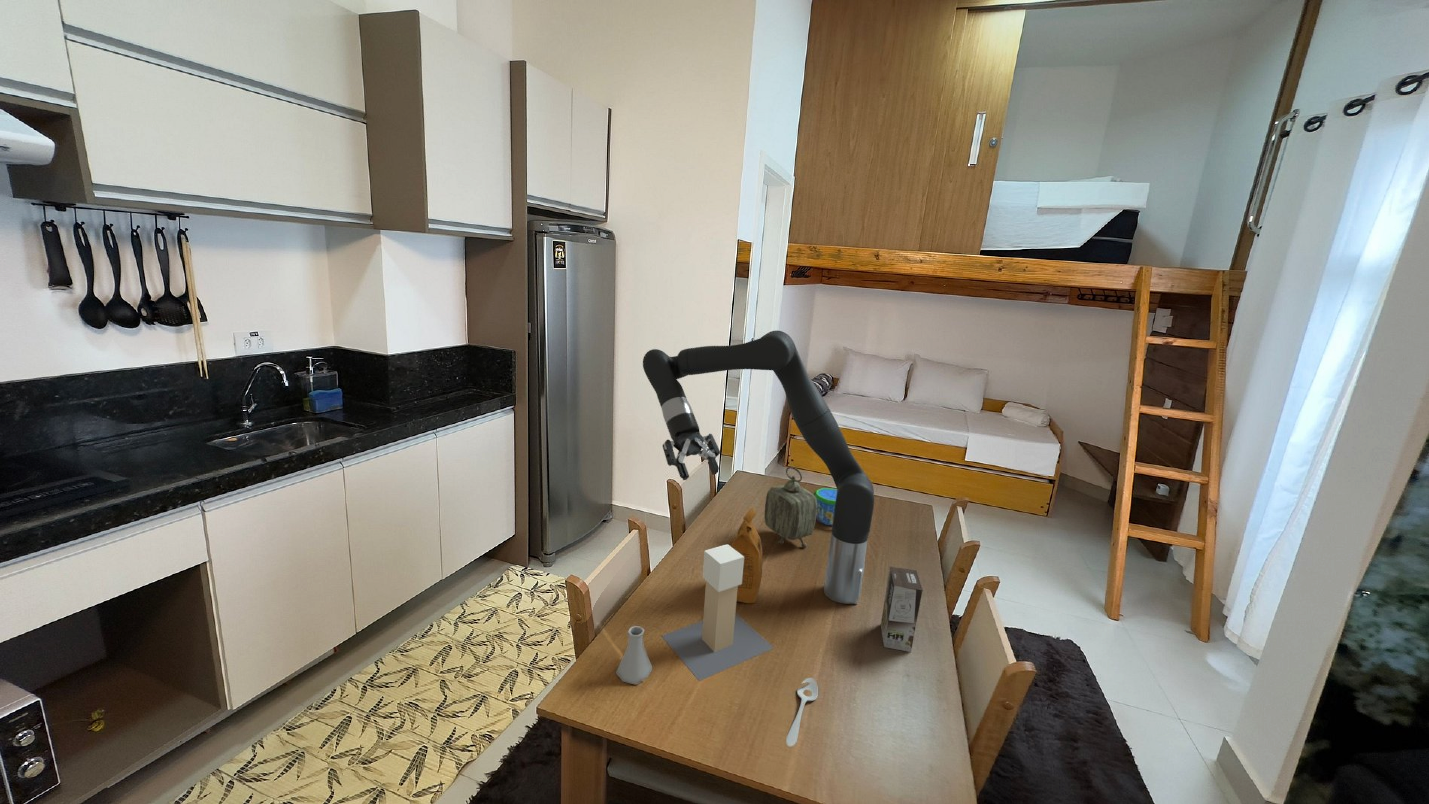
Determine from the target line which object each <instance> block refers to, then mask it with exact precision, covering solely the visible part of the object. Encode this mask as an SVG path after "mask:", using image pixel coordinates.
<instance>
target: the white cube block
mask: <svg viewBox="0 0 1429 804" xmlns="http://www.w3.org/2000/svg"><path fill="white" fill-rule="evenodd" d="M743 566H744V556H742V555H741V554H740V553H739V552H737V551H736V550H735V549H733V548H732V547H731V545H729V544H723V545H720V546H717V547H712V548H709V549H706V550H704V552H703V567H702V579H703V580H705V582H706V581H707V582H708V583H709V584H710V585H711V586H712V587H714V588H715V589H716V590H717V591H718V592H720V591H723V590H726V589H729V588H732V587H735V586H738V585H741V584H742V577H743Z"/></svg>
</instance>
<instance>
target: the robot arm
mask: <svg viewBox="0 0 1429 804" xmlns="http://www.w3.org/2000/svg"><path fill="white" fill-rule="evenodd" d="M642 369H643V370H644V371H643V372H644V373H645V375H646V378H647V379H648V382H649V383H650V385H651V387H652V389H653V390H654V391H655V394H656V397H657V400H658V403H659V406H660V408H661V412H662V416H663V420H664V422H665V425H666V427H667V430H668V432H669V436H670V438H671V440H670V439H666V440H665V441H664V442H663V444H662V449H663V452H664V457H665V460H666V462H667V465H668V466H669V467H671V466H675V467H676V470H677V472H678V474H679V477H680V479H682V480H683V481H687V480H688V479H689V478H690V474H689V471H688V469H687V466H686V464H685V462H684V459H685V457H689V456H697V455H698V456H699V457H701V458H704V459H705V460H707V464H708V467H709V470H710V472H711V474H712V475H713V476H714V475H717V473H719V470H720V467H719V465H718V462H717V459H716V458H718V456H719V455H721V450H720V449H719V447H718V444H717V443H716V440H715V437H714V435H713V433H708V434H707V435H705V436H703V435H702V434H701V432H700V425H699V424H698V422H697V419H696V417H695V414H694V411H693V409H692V406H691V404H690V402H689V400H688V399H687V396H686V393H685V391H684V389H683V386H682V384H681V383H680V381H679V379H682V378H685V377H688V376H694V375H703V374H710V373H718V372H724V371H734V370H737V371H738V370H759V371H762V370H763V371H773V373H774V374H775V376H776V377H777V379H778V380H779V383H781V387H782V388H783V390H784V393H785V397H786V400H787V404H788V407H789V410H790V413H791V417H792V419H793V421H794V423H795V425H796V427H797V429H798V430H799V432H800V435H802V437H803V439H804V441H805V442H806V443H807V445H808V446H809V447H810V448H811V450H812V451H813V452H814V453H815V454H816V455H817V456H818V457H819V458H820V459H821V460H822V462H823V463H824V464H825V466H826V467H827V469H828V471H829V474H830V475H831V477H832V480H833V482H834V484H835V486H836V489H837V495H836V503H835V511H834V519H833V525H831V536H830V541H829V548H828V549H829V550H828V556H827V557H828V559H827V565H826V572H825V581H824V588H823V592H824V594H825V596H826V597H828V599H829V600H832V601H833V602H836V603H839V604H844V605H846V604H847V605H849V604H854V605H858V603H859V599H860V596H861V593H862V584H863V579H864V578H863V577H864V573H865V565H866V561H865V560H866V555H867V554H866V552H867V549H868V548H867V546H868V539H869V534H870V532H871V526H872V520H873V519H872V518H873V513H874V505H875V489H874V485H873V483H872V481H871V479H870V478H869V477H868V475H867V474H866V472H865V471H864V470H863V468H862V467H861V465H860V464H859V463H858V461H857V460H856V458H855V457H854V455H853V454H852V451H851V450H850V448H849V445H848V443H847V440H846V439H845V436H844V434H843V432H842V430H841V428H840V426H839V424H838V422H837V420H836V418H835V416H834V415H833V413H832V411H831V410H830V407H829V406H828V404H827V403H826V401H825V400H824V398H823V395H821V394H822V393H821V392H820V391H819V388H817V386H816V384H815V383H814V382H813V380H812V378H811V377H810V376H809V373H808V372H807V369H806V367H805V366H804V363H803V360H802V359H801V356H800V353H799V351H798V349H797V346H796V344H795V342H794V340H793V339H792V337H791V336H790V334H787V333H786V332H785V331H781V330H772V331H769V332H767V333H765V334H764V335H763V336H761V337H759V338H758V339H754V340H751V341H748V342H744V343H740V344H733V345H706V346H697V347H690V348H684V349H681V350H680V351H679V352H678V354H677V355H675V356H669V355H668V354H667V353H665V352H664V351H663V350H660V349H657V348H654V349H649V350H647V352H646V353H645V354H644V356H643V358H642ZM674 448H675V449H676V450H677V454H676V455H675V452H674Z"/></svg>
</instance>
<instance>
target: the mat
mask: <svg viewBox="0 0 1429 804" xmlns="http://www.w3.org/2000/svg"><path fill="white" fill-rule="evenodd" d="M702 631H703V620H701V621H697V622H695V623H693V624H690V625H687V626H685V627H682V628H679V629H676V630H673V631H670V632H667V633H665V634H662V635H661V638H662V639H663V640H664V642H666V644H668V646H669V648H671V650H673V652H674V653H675V655H677V657H678V658H679V659H680V660H681V661H682V663H683V664H684V665H685V666H686V667H687V669H689V671H690V672H691V673H692V674H693V675H694V676H695V678H696V679H697V680H698V681H699V682H700V681H702V680H704V679H707V678H709V677H711V676H713V675H716V674H718V673H721V672H724V671H725V670H728V669H730V668H732V667H735V666H736V665H739V664H741V663H744V662H746V661H748V660H750V659H752V658H756V657H758V656H759V655H762V654H764V653H766V652H769V651H771V650H773V649H774V647H773V646H772V645H771V644H770V643H769V642H768V641H767V640H766V639H765V638H763V636H762V635H760V634H759V633H758V632H757V631H756V630H755V629H754V628H753V627H752V626H751V625H750V624H748V623H747V622H746V620H744V619H743V618H742V617H741V616H739V614H738V613H736V612H735V624H734V635H733V645H731V646H728V647H726V648H724V649H721V650H719V651H716V652H714V651H713V650H712V649H711V648H710V647H709V646H708V645H707V644H706V643H705V642H704V641H703V640H702Z"/></svg>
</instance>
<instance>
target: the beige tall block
mask: <svg viewBox="0 0 1429 804" xmlns="http://www.w3.org/2000/svg"><path fill="white" fill-rule="evenodd" d="M737 589H738V586H735V587H732V588H729V589H726V590H723V591H720V592H718V591H717V590H716V589H715V588H714V587H712V586H711V585H710V584H709V583H708V582H707V581H706V580H705V590H704V593H705V594H704V607H703V618H702V621H703V631H702V640H703V641H704V642H705V643H706V644H707V645H708V646H709V647H710V648H711V649H712V650H713V651H714V652H716V651H719V650H721V649H724V648H726V647H728V646H731V645H733V635H734V624H735V613H736V612H737V602H738V601H737Z"/></svg>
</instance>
